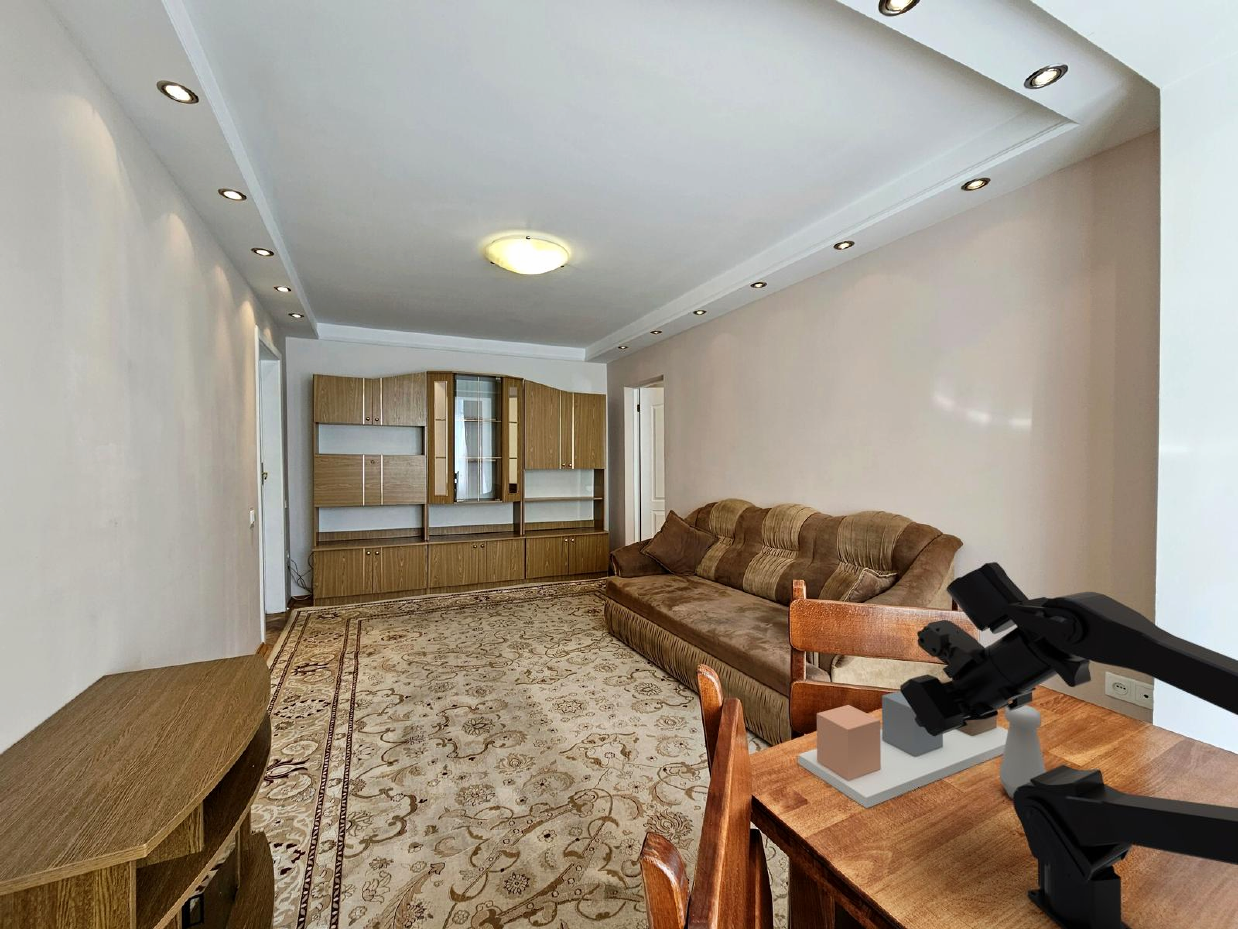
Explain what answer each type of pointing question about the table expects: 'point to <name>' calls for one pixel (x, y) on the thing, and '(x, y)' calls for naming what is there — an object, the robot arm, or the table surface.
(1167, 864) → the table surface
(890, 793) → the grey base board
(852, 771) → the terracotta block
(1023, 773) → the salt shaker
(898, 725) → the dark slate block
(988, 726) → the walnut block
